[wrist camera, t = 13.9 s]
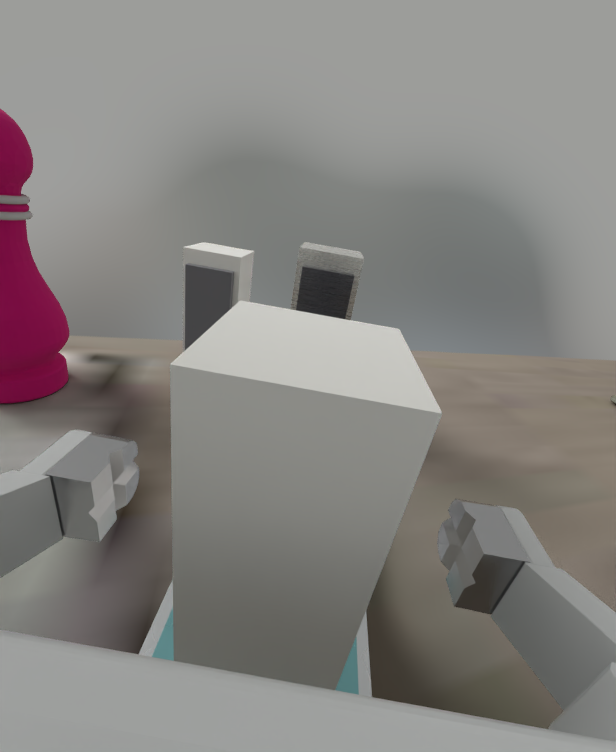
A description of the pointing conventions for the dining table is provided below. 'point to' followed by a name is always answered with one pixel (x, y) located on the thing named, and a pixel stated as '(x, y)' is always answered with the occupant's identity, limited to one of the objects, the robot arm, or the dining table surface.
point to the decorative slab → (613, 399)
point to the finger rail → (323, 297)
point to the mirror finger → (212, 285)
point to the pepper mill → (24, 287)
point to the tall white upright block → (288, 486)
